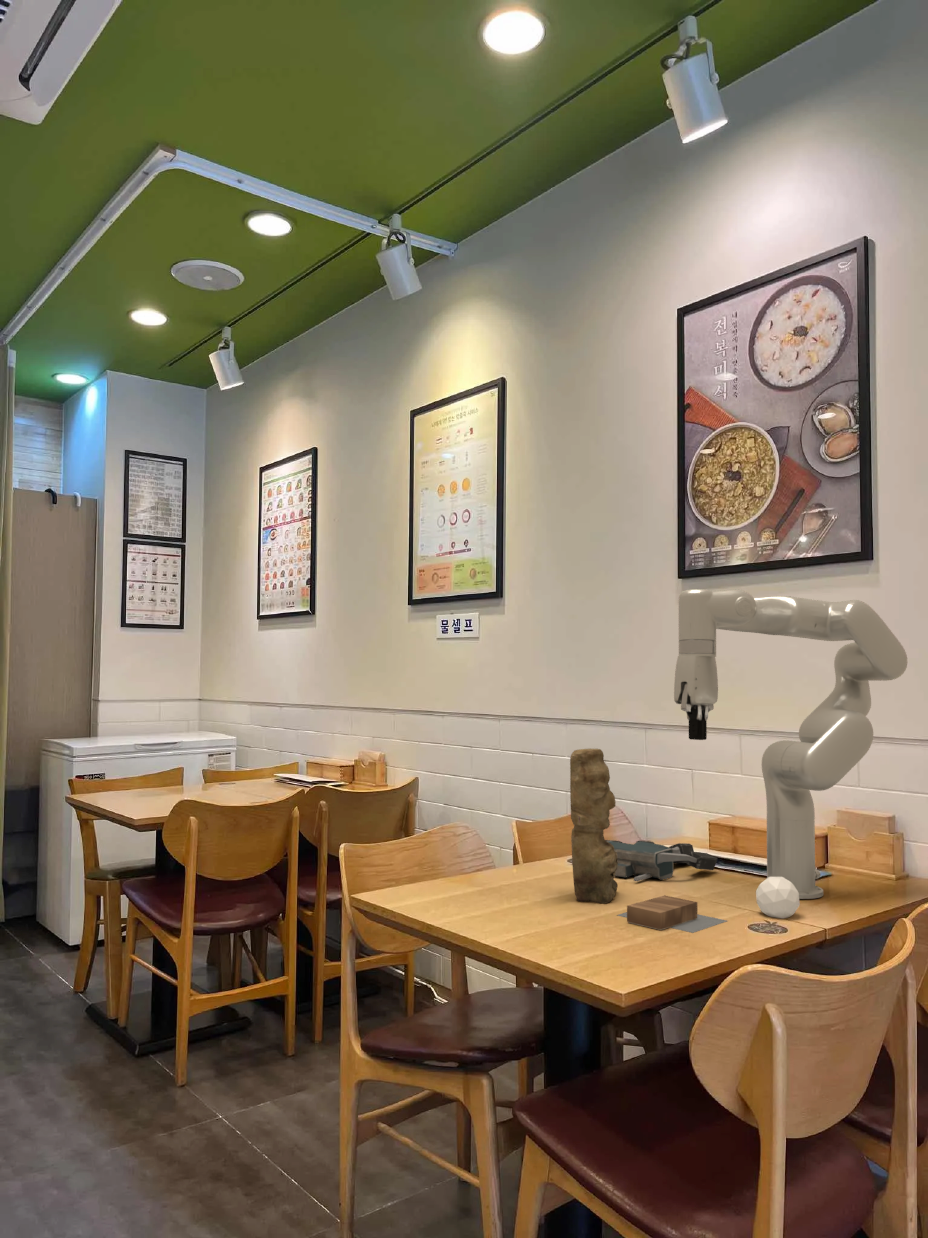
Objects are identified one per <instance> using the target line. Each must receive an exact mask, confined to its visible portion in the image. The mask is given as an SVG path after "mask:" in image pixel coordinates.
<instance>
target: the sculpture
mask: <svg viewBox="0 0 928 1238" xmlns="http://www.w3.org/2000/svg"><path fill="white" fill-rule="evenodd" d="M569 757H570V760H569V762H570V763H569V765H570V767H569V771H570V772H569V774H570V775H569V777H570V778H569V779H570V780H569V781H570V783H569V784H570V785H569V790H570V792H569V794H570V797H569V798H570V819H571V821H572V824H573V828H572V829H571V835H570V837H571V839H570V841H571V864H572V865H571V866H572V877H573V888H574V889H573V890H574V895H575V897H576V900H577V901H578V902H583V903H584V902H592V903H593V902H594V903H598V904H604V905H605V904H607V903H608V904H609V903H611V901H612V900H613V899H614V898H615V895H616V893H617V890H618V883H617V881H616V880H614V879H615V877H616V876H615V874H616V873H615V871H616V870H617V867H618V863H617V862H618V858H617V852H615V851H614V846H613V845H612V844H611V843H609V842H607V841H605V840H606V839H605V836H604V832H605V831H604V830H607V829H608V828H609V827H610V826H611V824H610V823H611V822H610V819H609V818H610V810H612V809H614V808H615V807H616V805H617V804H616V796H615V795H614V794H615V793H613V792H612V791H611V787H610V784H609V782H610V779H611V777H610V774H611V773H610V769H609V766H608V765H607V764H606V762H605V760H604V752H603V750H602V749H600V748H580V749H575V750H573V752H572V753H571V754H570V756H569Z"/></svg>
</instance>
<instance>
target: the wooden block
mask: <svg viewBox="0 0 928 1238" xmlns="http://www.w3.org/2000/svg"><path fill="white" fill-rule="evenodd" d="M626 912H627V918H626V922H627V923H628V924H632V925H638V926H641V927H644V928H650V929H654V930H658V931H663V930H666V929H668V928H669V927H672V926H676V925H679V924H682V923H685V922H688V921H691V920H695V919H696V918H697V914H698V901H694V900H689V899H684V898H679V897H673V896H670V895H665V894H664V895H661V896H657V897H654V898H651V899H647V900H642V901H639V902H635V903H631V904H627V905H626ZM669 929H670V928H669Z"/></svg>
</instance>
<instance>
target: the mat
mask: <svg viewBox="0 0 928 1238" xmlns="http://www.w3.org/2000/svg"><path fill="white" fill-rule="evenodd" d="M616 916H617V917H621V918H626V919H627V911H626V912H623V913H620V914H619V913H618V914H616ZM726 922H728V920H727V919H726V920H725V919H722V918H716V917H712V916H707V915H704V914H698V913H697V918H696V919H695V920H691V921H688V922H685V923H682V924H679V925H676V926H672V927H669V929H675V930H678V931H683V932H687V933H691V934H694V933H697V932H700V931H703V930H705V929H708V928H711V927H715V926H718V925H721V924H724V923H726Z"/></svg>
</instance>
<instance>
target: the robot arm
mask: <svg viewBox="0 0 928 1238" xmlns="http://www.w3.org/2000/svg"><path fill="white" fill-rule="evenodd" d="M717 630H723V631H733V632H739V633H741V632H742V633H754V634H761V635H768V636H783V637H793V638H800V639H802V638H803V639H807V640H808V639H810V640H817V641H824V642H825V641H826V642H843V641H853V642H850V643H846V644H844V645H843V646H840V648H839V649H838V651H836V654H835V657H834V664H833V665H834V666H833V667H834V673H835V683H834V688H833V690H832V691H831V692H830V693H829V694H828V696H827V697H826V698H825V699H824V700H823V701H822V702H821V703H820V704H819V705H818V706H817V707H816V708H815V709H814V710H813V711H812V712H811V713H810V714H808V715H807V716H806V717H805V719H803V721H802V722H801V724H800V726H799V730H798V738H799V741H798V740H797V741H796V740H779V741H775V742H773V743H771V744H769V746H767V748H766V749H765V750H764V752H763V754H762V756H761V772H762V773H761V774H762V777H763V781H764V788H765V796H766V797H765V799H766V879H767V878H768V877H784V878H785V879H787V880H788V881H790V882H791V883H792V884H793V885H794V886H795V888H796V889H797V891H798V892H799V900H812V899H813V900H814V899H820V898H822V897H823V896H824V888H822V887H821V886H817V885H816V880H817V879H819V878H821V872H820V870H819V869H817V868H816V845H815V844H816V842H815V839H816V838H815V837H816V836H815V834H816V832H815V826H816V825H815V824H816V823H815V819H816V817H815V803H814V800H813V796H812V794H811V791H816V792H821V791H822V792H823V791H827V790H829V789H831V788H833V787H834V786H836V785H837V784H838V783H839V782H840V781H841V780H842V779H843V778H844V777H845V776H846V775H847V774H848V773H849V772H850V771H851V770H852V769H853V768H854V767H855V766H856V765H857V764H858V763H859V762H860V761H861V760H862V759H863V758H864V757H865V755H866V754H867V753H868V752H869V750H870V748H871V746H872V743H873V740H874V728H873V725H872V722H871V721H870V719H869V718H868V717H867V716H868V714H869V712H870V710H871V708H872V697H871V696H872V695H871V690H870V689H871V688H870V682H869V681H871V682H872V681H874V682H875V681H883V682H885V681H886V682H887V681H893V680H896V679H898V678H900V677H901V676H902V675H903V674H904V673H905V672H906V670H907V668H908V655H907V652H906V649H905V648H904V646H903V645H902V643H901V642H900V640H899V639H898V638H897V637H896V635H895V633H893V631H892V630H891V629H890V628H889V626H888V625H887V623H885V620H883V618H881V616H880V615H879V614H878V612H876V611H875V610H874V608H872V607H871V606H870V605H869V604H867V603H866V602H864V601H862V600H859V599H858V600H857V599H853V600H843V601H827V600H819V599H811V598H803V597H797V596H787V595H786V596H785V595H784V596H783V595H781V596H777V595H776V596H769V597H753V595H752V594H750V593H749V592H747V591H745V590H742V589H727V590H710V589H704V588H703V589H701V588H700V589H699V588H697V589H695V588H694V589H693V588H692V589H686V590H683V591H681V592H680V593H679V596H678V656H677V658H676V664H675V670H674V671H675V672H674V684H673V685H674V686H673V687H674V688H673V701H674V702H675V703H676V704H677V705H680V710H682V711H683V712H685V713H686V718H687V721H688V739H689V740H694V741H695V740H696V741H705V740H707V739H708V738H707V735H708V733H707V732H708V731H707V727H708V726H707V724H708V723H707V722H708V721H707V720H709V712H711V711H712V710H714V705H715V704H716V703H717V702H718V698H719V680H718V667H717V661H716V658H717Z"/></svg>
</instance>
